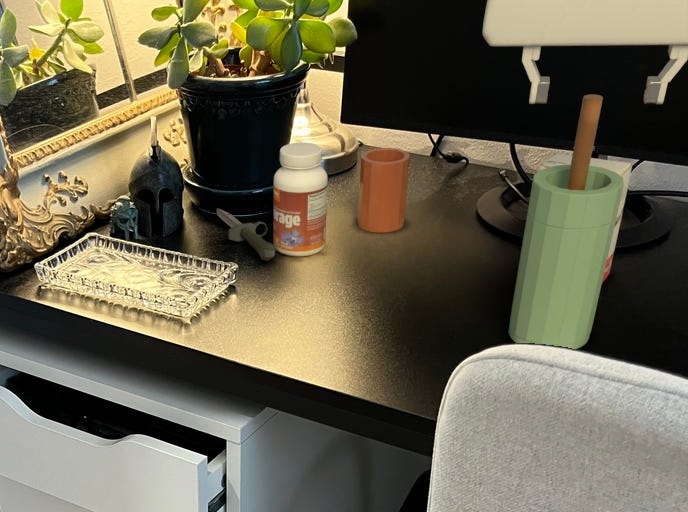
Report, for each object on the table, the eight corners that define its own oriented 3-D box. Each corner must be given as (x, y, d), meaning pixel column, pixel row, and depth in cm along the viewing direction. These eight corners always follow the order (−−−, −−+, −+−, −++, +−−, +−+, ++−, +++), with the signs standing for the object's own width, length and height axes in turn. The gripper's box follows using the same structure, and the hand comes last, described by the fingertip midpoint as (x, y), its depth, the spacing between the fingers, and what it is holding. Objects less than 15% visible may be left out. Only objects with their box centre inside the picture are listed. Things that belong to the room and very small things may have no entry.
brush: (565, 321, 101) (612, 91, 87) (565, 335, 99) (613, 102, 85) (532, 319, 102) (573, 91, 88) (532, 333, 100) (574, 102, 85)
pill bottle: (262, 247, 120) (261, 149, 113) (300, 233, 123) (302, 136, 115) (297, 262, 116) (298, 162, 109) (336, 247, 119) (339, 148, 111)
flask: (587, 319, 103) (621, 165, 93) (589, 355, 97) (626, 196, 87) (509, 314, 105) (534, 163, 94) (507, 349, 99) (533, 192, 89)
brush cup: (406, 216, 126) (411, 148, 120) (401, 233, 122) (406, 164, 116) (361, 214, 127) (364, 147, 121) (355, 231, 123) (358, 163, 117)
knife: (201, 202, 128) (238, 196, 129) (202, 218, 130) (238, 212, 131) (253, 248, 115) (294, 241, 116) (254, 266, 116) (294, 259, 117)
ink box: (611, 274, 110) (637, 161, 102) (596, 290, 108) (621, 176, 100) (535, 259, 114) (554, 149, 106) (519, 275, 111) (537, 163, 103)
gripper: (489, -83, 77) (468, 112, 87) (780, -94, 73) (724, 114, 82) (492, -96, 82) (472, 91, 91) (767, -107, 77) (716, 91, 86)
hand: (594, 102), depth 86 cm, fingers open, 8 cm apart
